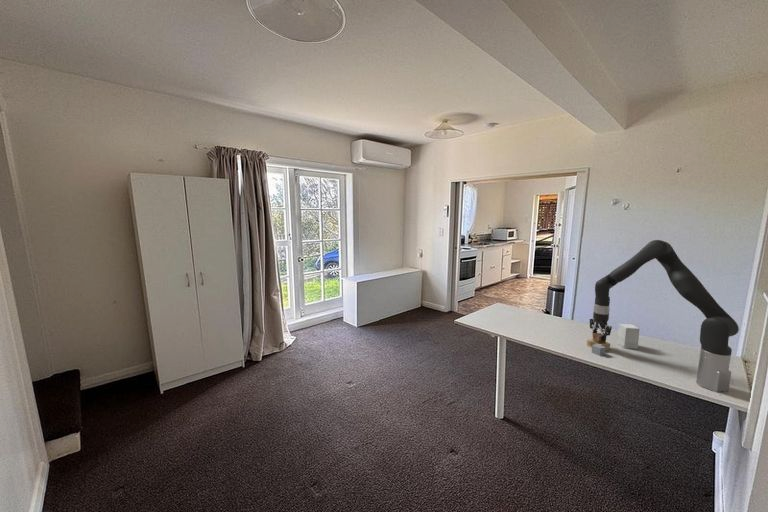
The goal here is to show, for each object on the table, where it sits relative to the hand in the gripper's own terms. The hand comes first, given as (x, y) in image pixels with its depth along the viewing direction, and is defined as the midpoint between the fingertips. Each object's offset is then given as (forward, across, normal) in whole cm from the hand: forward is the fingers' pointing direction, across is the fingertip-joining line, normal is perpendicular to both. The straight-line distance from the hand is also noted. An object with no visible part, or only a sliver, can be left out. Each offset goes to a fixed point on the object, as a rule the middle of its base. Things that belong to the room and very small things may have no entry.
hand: (598, 338), depth 177 cm
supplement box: (+6, 0, -19) cm, 20 cm away
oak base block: (+6, 0, 0) cm, 6 cm away
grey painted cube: (+6, -7, +6) cm, 11 cm away
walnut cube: (+2, 0, 0) cm, 2 cm away
